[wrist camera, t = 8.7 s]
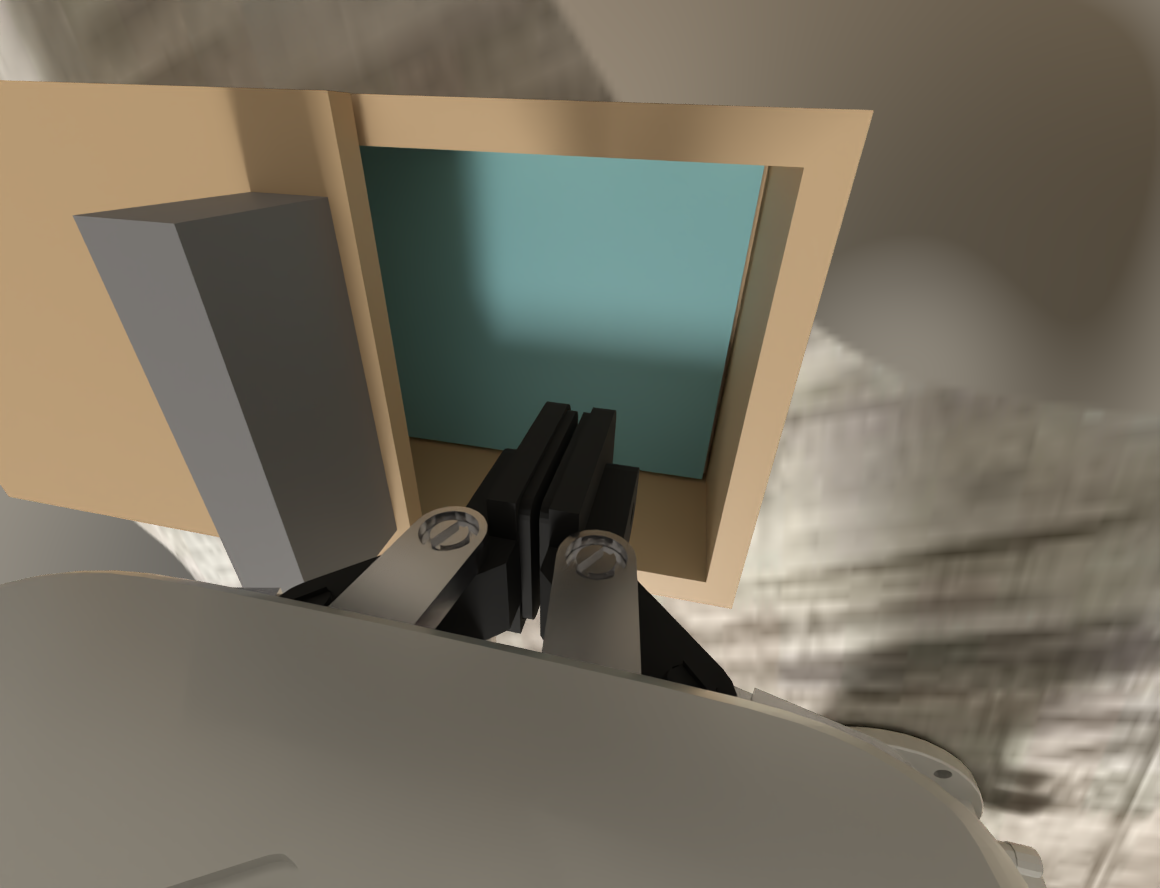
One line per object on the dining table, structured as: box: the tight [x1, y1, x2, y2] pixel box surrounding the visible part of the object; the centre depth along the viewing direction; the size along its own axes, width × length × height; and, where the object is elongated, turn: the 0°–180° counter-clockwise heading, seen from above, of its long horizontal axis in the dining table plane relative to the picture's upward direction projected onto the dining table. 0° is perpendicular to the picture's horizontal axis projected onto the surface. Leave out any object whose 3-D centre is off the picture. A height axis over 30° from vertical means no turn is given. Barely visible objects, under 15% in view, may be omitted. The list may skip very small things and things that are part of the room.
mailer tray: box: [350, 94, 873, 609], centre depth 18 cm, size 18×14×7 cm
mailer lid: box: [0, 80, 422, 593], centre depth 14 cm, size 18×14×5 cm
